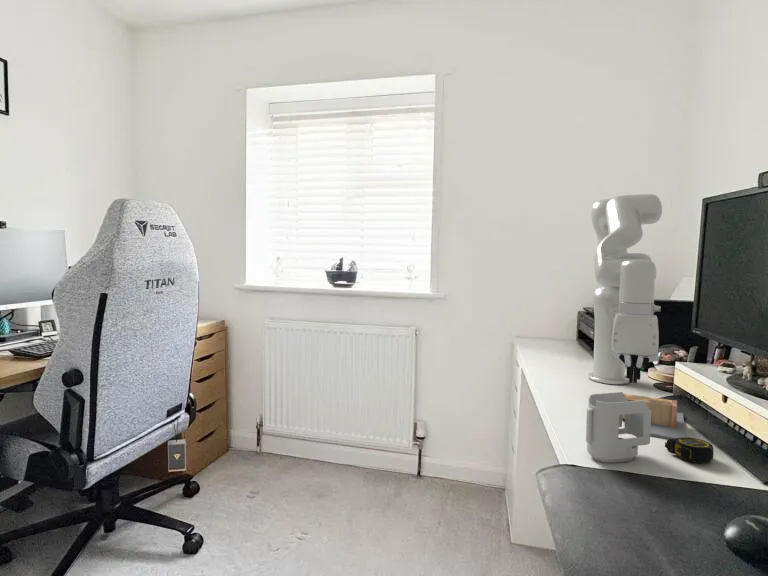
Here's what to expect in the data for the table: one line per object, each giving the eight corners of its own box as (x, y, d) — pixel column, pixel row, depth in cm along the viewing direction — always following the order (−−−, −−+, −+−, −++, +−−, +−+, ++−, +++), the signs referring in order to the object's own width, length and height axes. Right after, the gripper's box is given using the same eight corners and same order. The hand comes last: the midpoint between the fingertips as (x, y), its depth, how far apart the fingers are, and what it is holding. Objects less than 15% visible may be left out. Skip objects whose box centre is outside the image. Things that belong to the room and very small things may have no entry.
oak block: (621, 392, 115) (676, 400, 109) (620, 412, 115) (676, 421, 109) (619, 398, 111) (677, 406, 104) (619, 418, 111) (676, 427, 105)
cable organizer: (652, 460, 89) (655, 399, 88) (597, 467, 86) (599, 404, 85) (626, 446, 95) (628, 389, 95) (574, 452, 93) (576, 393, 92)
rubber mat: (629, 407, 121) (630, 405, 121) (682, 415, 114) (683, 413, 114) (624, 431, 104) (624, 428, 104) (685, 442, 98) (685, 439, 97)
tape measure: (692, 451, 94) (693, 433, 93) (722, 465, 87) (723, 447, 87) (664, 453, 92) (664, 435, 92) (692, 468, 86) (692, 449, 86)
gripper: (671, 309, 109) (668, 383, 110) (604, 306, 117) (602, 374, 118) (671, 312, 103) (668, 390, 104) (600, 309, 111) (598, 381, 112)
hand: (633, 381), depth 111 cm, fingers closed
